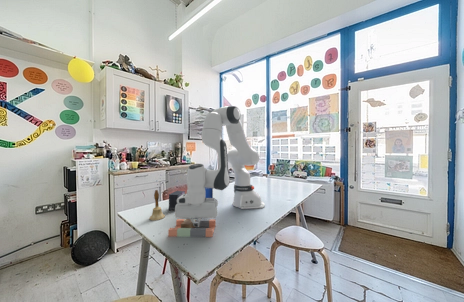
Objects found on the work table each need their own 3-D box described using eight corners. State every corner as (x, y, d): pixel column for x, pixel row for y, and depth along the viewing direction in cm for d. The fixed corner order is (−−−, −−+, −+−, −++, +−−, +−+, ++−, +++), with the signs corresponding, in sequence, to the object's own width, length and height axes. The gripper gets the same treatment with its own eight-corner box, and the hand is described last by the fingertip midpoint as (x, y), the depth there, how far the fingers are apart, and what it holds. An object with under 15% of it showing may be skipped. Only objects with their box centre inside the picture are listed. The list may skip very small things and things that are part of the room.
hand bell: (150, 221, 94) (150, 192, 94) (148, 217, 101) (147, 189, 100) (166, 218, 99) (166, 190, 99) (162, 213, 106) (162, 187, 105)
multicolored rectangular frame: (215, 225, 90) (215, 219, 90) (212, 237, 78) (212, 230, 78) (177, 224, 90) (177, 219, 90) (168, 236, 78) (168, 229, 78)
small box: (177, 211, 110) (177, 194, 110) (168, 210, 111) (168, 194, 111) (185, 205, 120) (185, 190, 120) (176, 205, 121) (176, 190, 121)
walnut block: (195, 227, 87) (195, 219, 87) (190, 233, 81) (190, 224, 81) (186, 226, 88) (186, 218, 88) (180, 232, 82) (180, 223, 82)
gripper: (218, 196, 86) (218, 223, 87) (177, 195, 87) (178, 223, 87) (216, 199, 80) (217, 229, 80) (173, 199, 81) (173, 228, 81)
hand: (196, 226), depth 84 cm, fingers closed
